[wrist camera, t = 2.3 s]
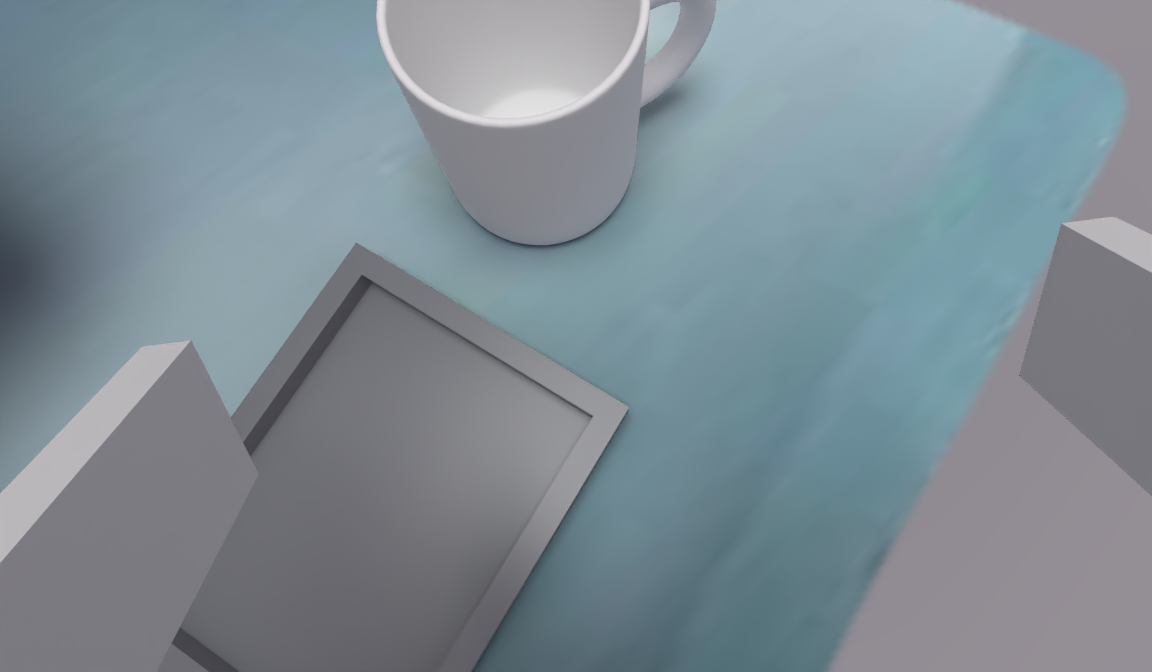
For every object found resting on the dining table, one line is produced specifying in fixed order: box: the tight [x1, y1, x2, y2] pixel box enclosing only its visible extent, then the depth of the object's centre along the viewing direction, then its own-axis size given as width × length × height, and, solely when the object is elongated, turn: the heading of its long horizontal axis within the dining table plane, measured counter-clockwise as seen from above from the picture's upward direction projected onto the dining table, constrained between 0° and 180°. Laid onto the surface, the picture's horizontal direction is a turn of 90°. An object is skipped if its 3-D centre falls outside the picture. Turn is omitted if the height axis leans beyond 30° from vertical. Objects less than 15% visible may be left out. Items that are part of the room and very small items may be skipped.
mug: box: [376, 0, 716, 245], centre depth 25 cm, size 12×8×10 cm
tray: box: [157, 243, 629, 672], centre depth 26 cm, size 13×17×2 cm
